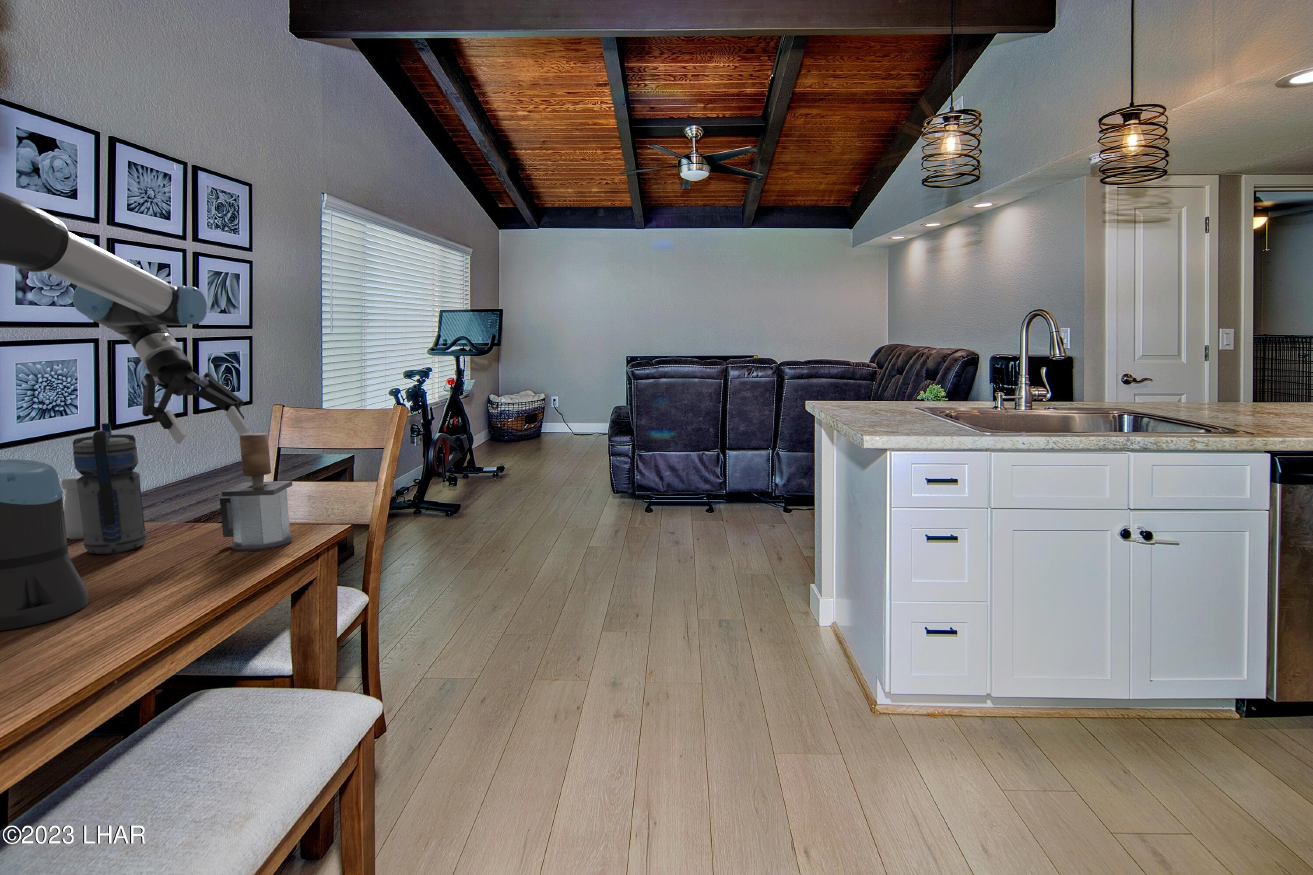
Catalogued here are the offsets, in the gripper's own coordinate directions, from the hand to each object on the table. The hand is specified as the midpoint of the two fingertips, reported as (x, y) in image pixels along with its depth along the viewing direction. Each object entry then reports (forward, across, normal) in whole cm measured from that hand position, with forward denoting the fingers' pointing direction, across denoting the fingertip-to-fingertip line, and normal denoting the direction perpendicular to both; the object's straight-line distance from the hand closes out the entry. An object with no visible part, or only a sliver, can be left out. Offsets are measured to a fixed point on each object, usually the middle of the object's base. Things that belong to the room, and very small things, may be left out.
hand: (214, 436), depth 151 cm
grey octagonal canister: (+23, +1, +7) cm, 24 cm away
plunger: (+19, +1, +2) cm, 19 cm away
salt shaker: (-5, -10, +38) cm, 40 cm away
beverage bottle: (+8, -13, +25) cm, 29 cm away
